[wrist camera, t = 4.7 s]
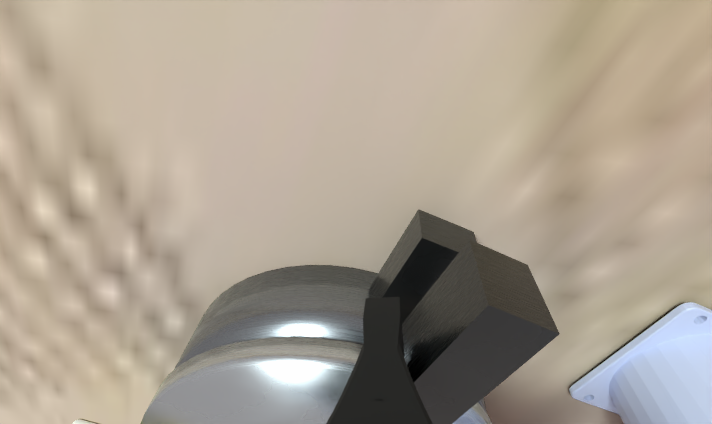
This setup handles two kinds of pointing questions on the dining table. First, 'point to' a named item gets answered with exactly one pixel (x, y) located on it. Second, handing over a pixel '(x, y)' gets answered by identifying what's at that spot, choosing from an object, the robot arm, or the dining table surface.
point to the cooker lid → (337, 358)
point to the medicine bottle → (82, 422)
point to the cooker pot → (329, 293)
